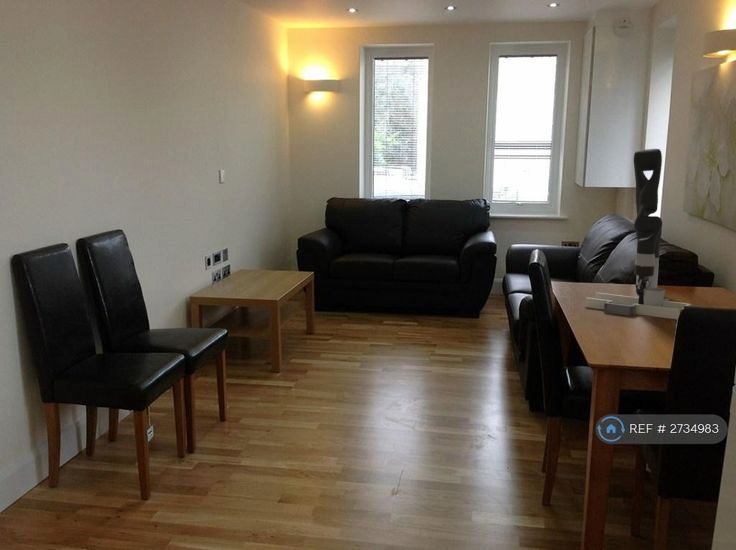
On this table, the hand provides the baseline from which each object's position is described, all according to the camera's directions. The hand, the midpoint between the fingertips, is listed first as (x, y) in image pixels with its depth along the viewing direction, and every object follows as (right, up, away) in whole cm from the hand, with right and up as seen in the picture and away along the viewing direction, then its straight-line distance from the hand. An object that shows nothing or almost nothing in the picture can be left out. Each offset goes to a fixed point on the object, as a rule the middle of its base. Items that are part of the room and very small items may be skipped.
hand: (641, 304), depth 271 cm
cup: (+3, -3, -3) cm, 6 cm away
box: (-1, -2, +2) cm, 3 cm away
